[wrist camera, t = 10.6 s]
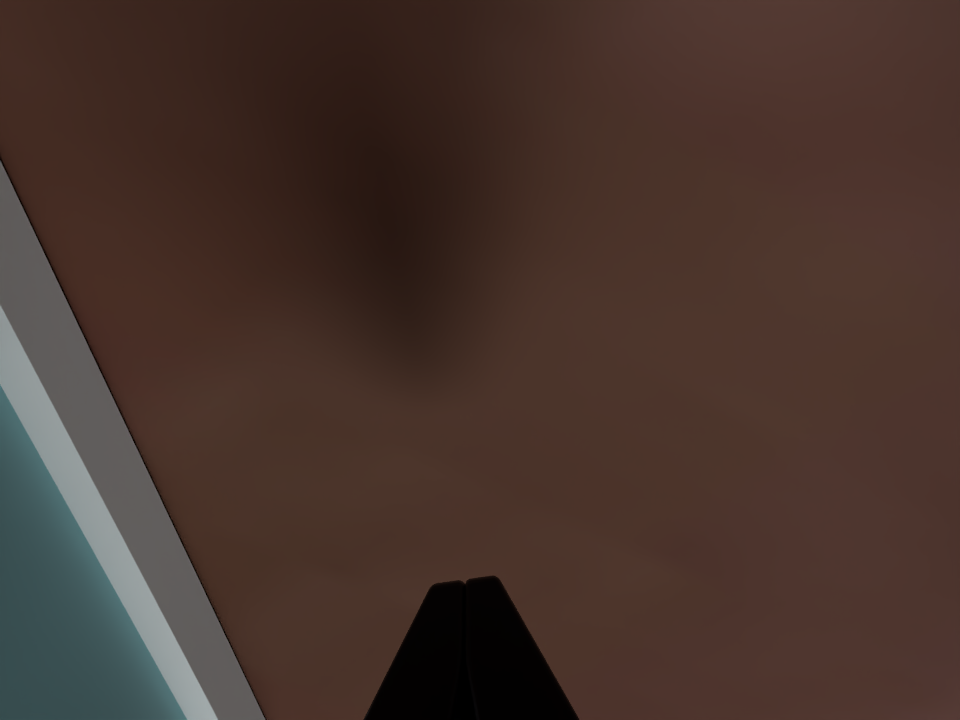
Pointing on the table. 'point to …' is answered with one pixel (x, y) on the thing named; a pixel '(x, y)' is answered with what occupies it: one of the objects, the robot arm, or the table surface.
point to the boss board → (107, 478)
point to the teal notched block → (62, 608)
